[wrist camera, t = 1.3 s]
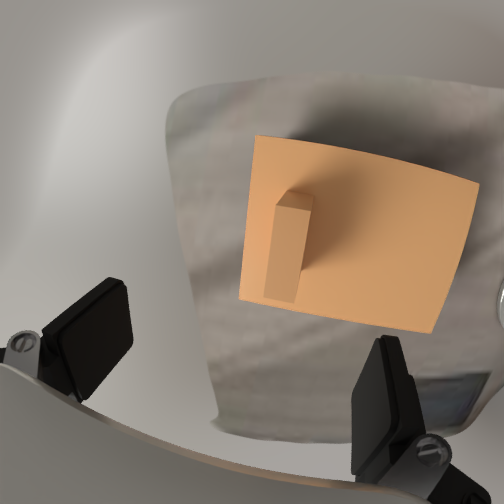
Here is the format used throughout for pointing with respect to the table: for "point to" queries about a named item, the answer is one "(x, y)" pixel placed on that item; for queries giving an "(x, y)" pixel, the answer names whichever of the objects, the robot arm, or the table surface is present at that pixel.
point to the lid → (352, 234)
